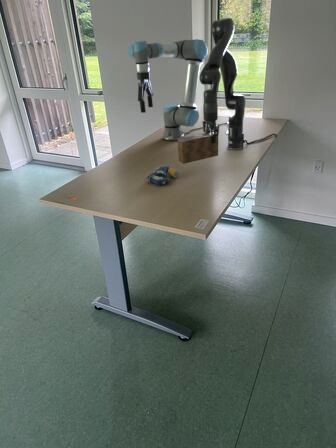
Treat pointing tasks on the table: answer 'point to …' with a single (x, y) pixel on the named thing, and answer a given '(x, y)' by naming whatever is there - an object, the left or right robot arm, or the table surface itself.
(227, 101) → the right robot arm
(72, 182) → the table surface
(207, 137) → the box
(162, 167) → the blue yellow printed carton
